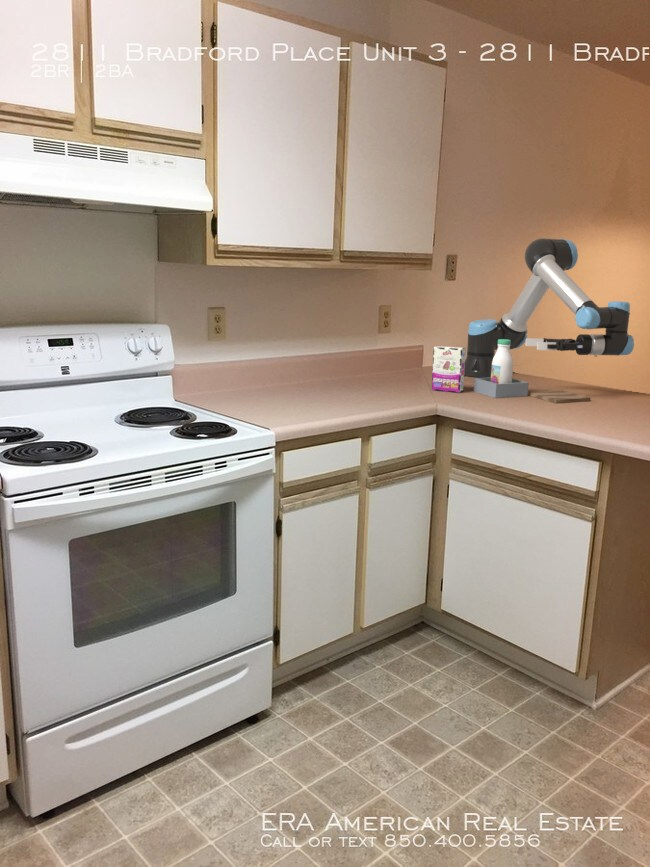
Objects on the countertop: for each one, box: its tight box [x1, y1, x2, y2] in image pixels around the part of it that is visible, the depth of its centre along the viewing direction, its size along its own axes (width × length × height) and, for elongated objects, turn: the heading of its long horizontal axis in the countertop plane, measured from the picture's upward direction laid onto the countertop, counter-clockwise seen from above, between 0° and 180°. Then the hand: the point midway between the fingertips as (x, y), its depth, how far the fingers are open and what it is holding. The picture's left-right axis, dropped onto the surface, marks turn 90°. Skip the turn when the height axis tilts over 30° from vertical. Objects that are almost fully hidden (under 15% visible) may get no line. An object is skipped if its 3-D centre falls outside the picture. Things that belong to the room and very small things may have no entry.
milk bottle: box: [490, 339, 514, 384], centre depth 267 cm, size 8×8×20 cm
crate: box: [473, 377, 530, 399], centre depth 268 cm, size 14×14×5 cm
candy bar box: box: [431, 345, 467, 394], centre depth 271 cm, size 11×5×16 cm, turn 62°
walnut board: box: [528, 390, 591, 404], centre depth 262 cm, size 15×15×1 cm
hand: (531, 344), depth 265 cm, fingers open, 13 cm apart
